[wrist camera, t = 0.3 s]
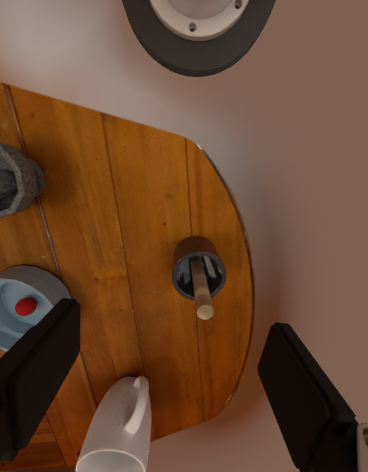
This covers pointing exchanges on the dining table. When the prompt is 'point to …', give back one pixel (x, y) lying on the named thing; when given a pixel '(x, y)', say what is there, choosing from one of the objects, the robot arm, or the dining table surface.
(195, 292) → the stick
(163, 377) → the dining table surface
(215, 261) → the holder
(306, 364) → the robot arm
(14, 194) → the mortar and pestle
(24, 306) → the berry
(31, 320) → the mixing bowl
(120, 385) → the mug
